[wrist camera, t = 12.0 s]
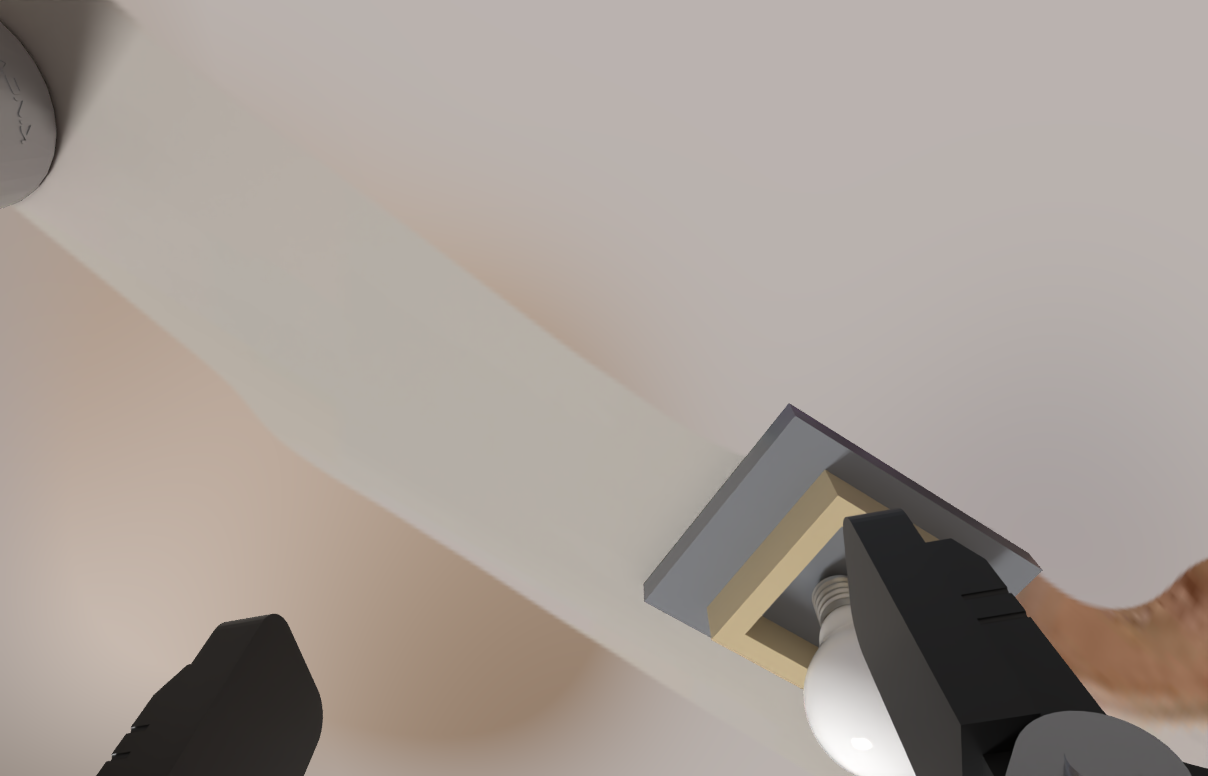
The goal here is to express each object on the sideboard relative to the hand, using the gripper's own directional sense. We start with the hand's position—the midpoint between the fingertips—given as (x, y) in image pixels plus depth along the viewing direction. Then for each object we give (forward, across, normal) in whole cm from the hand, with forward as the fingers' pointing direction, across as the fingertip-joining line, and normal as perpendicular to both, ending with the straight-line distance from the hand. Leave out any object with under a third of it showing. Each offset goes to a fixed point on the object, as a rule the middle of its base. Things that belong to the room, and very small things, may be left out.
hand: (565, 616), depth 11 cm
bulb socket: (+26, -9, +20) cm, 34 cm away
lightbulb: (+25, -9, +20) cm, 33 cm away
